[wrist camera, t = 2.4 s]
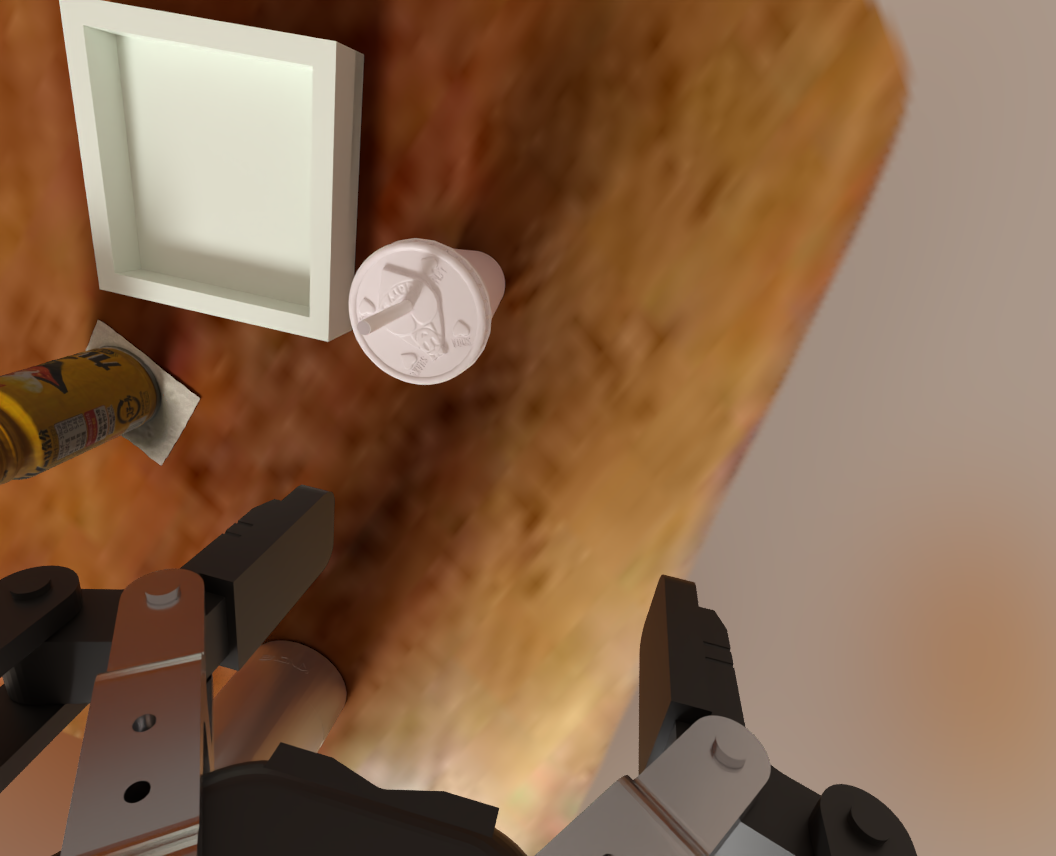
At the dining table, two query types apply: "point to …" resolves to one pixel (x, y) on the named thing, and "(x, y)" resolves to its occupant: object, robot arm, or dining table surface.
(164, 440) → the condiment
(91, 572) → the dining table surface
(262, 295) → the tray
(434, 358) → the smoothie
